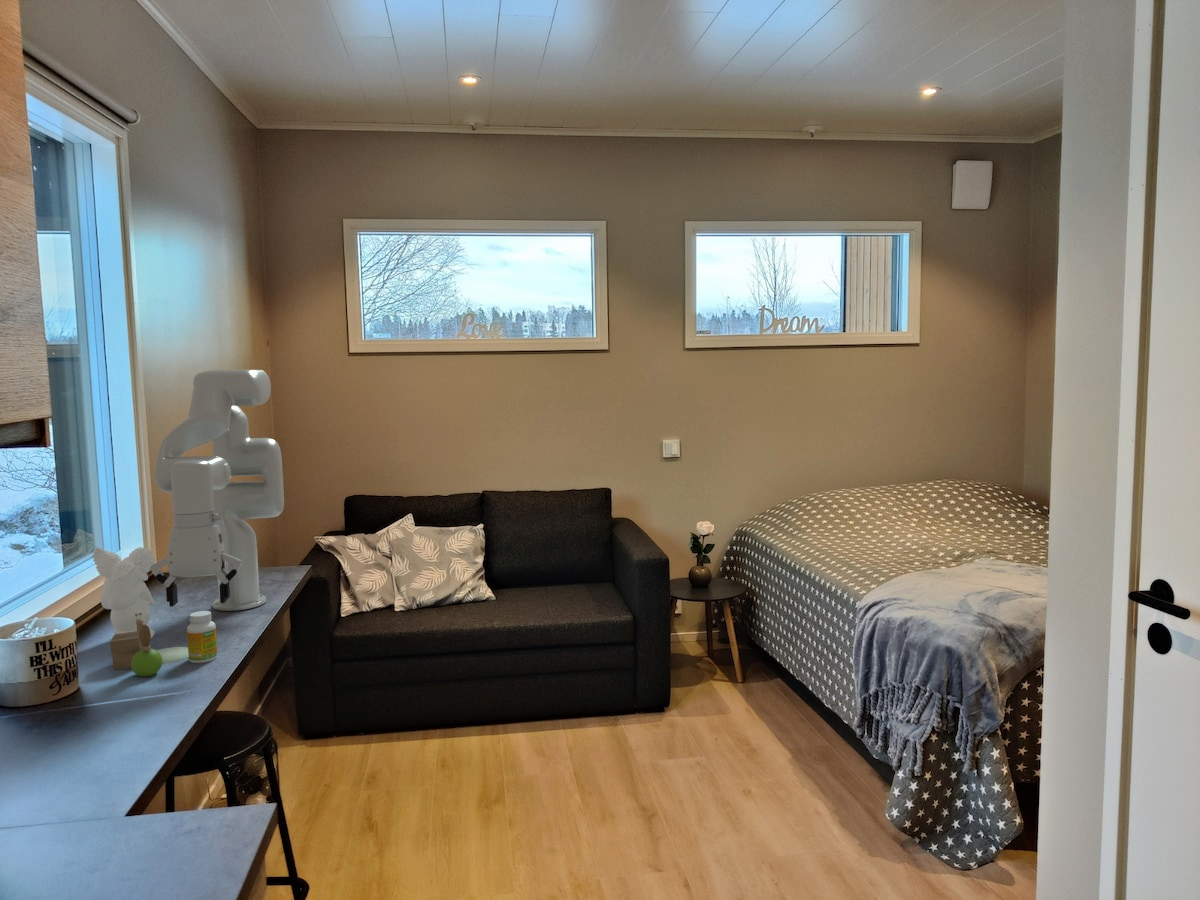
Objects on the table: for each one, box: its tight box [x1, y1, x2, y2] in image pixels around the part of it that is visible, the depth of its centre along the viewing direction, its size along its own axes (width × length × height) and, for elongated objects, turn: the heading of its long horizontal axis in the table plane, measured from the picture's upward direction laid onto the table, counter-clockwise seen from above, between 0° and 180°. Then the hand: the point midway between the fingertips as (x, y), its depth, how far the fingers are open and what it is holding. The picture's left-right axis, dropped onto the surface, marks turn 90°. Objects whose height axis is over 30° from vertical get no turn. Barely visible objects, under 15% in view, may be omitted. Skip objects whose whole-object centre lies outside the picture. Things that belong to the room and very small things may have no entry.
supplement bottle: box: [186, 610, 218, 664], centre depth 172 cm, size 5×5×10 cm
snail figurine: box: [130, 613, 163, 678], centre depth 164 cm, size 5×6×12 cm
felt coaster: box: [155, 646, 189, 665], centre depth 175 cm, size 10×10×1 cm
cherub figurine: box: [91, 546, 156, 641], centre depth 183 cm, size 12×12×22 cm
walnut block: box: [109, 631, 142, 671], centre depth 169 cm, size 5×5×6 cm
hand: (199, 603), depth 170 cm, fingers open, 9 cm apart
